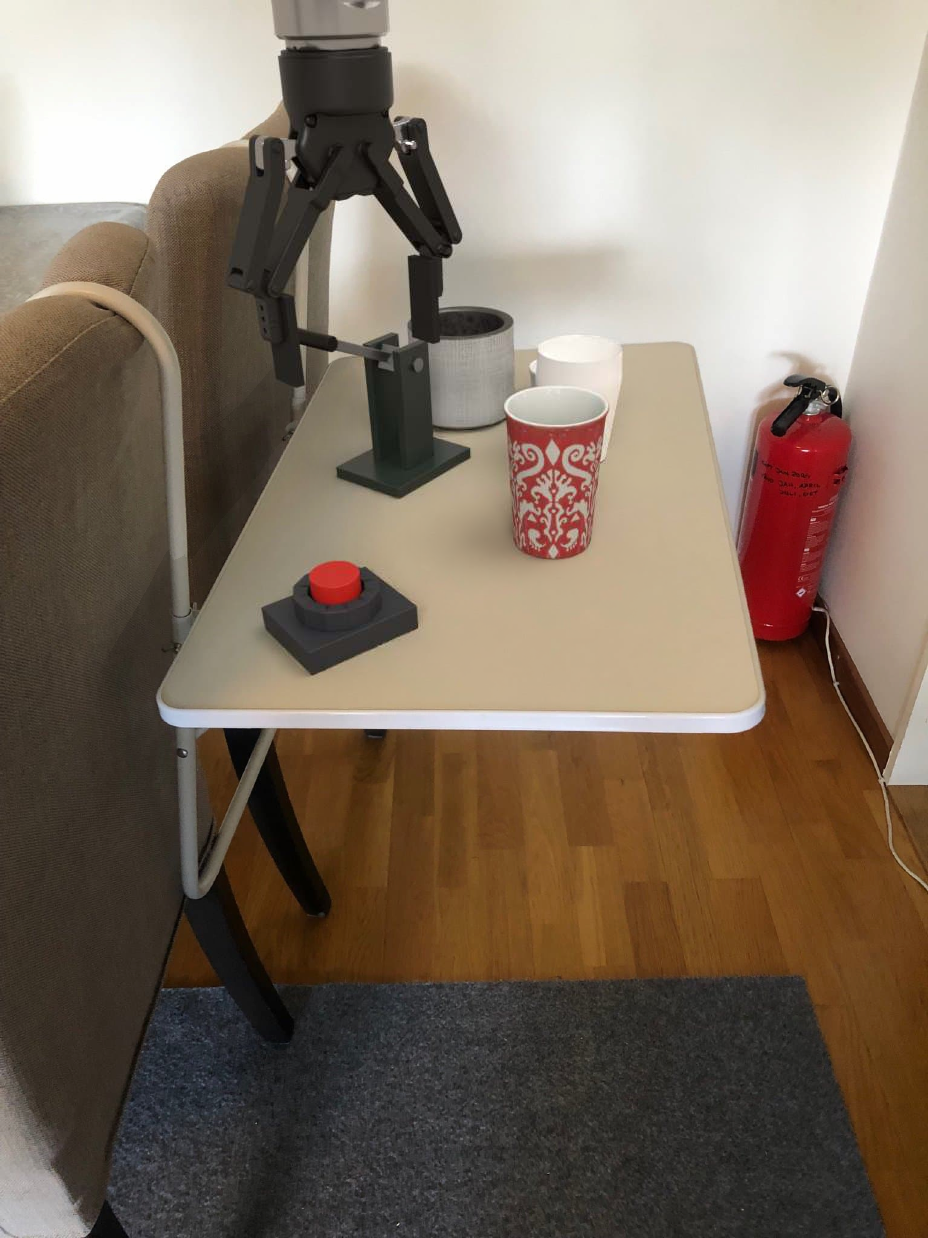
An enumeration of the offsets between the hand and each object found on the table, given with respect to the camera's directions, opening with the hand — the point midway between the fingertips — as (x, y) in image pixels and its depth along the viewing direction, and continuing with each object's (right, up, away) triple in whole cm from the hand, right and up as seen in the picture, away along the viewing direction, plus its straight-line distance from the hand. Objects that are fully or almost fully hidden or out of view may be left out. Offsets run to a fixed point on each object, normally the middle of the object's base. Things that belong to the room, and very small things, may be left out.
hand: (361, 360), depth 73 cm
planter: (+8, +5, +40) cm, 41 cm away
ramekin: (+21, +7, +42) cm, 47 cm away
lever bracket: (+2, -4, +28) cm, 28 cm away
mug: (+17, -12, +15) cm, 26 cm away
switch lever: (-2, +4, +17) cm, 17 cm away
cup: (+20, -3, +29) cm, 35 cm away
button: (-2, -18, +1) cm, 18 cm away
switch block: (-2, -21, +3) cm, 22 cm away
